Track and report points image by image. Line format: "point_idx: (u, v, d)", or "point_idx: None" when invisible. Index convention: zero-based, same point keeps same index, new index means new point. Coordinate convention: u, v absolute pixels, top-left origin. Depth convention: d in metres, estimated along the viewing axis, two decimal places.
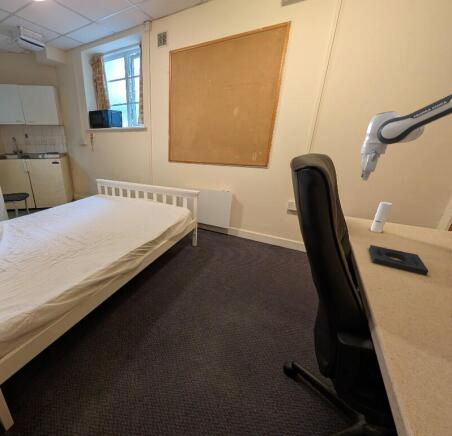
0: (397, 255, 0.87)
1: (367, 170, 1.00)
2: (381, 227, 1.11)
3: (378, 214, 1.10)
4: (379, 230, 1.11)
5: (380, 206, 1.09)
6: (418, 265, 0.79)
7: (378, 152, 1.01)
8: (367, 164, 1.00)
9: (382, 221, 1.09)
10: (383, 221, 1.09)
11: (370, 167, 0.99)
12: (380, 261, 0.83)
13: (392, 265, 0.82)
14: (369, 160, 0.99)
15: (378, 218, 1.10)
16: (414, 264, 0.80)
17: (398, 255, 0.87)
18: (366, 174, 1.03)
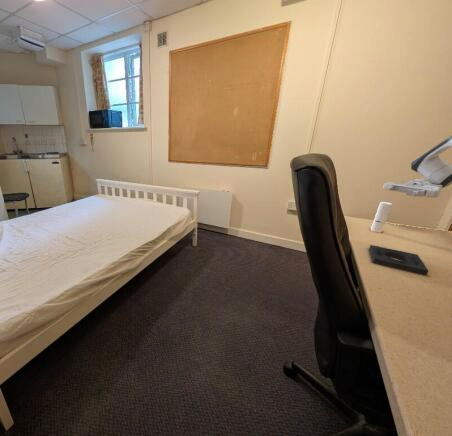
0: (397, 255, 0.87)
1: (383, 187, 1.21)
2: (381, 227, 1.11)
3: (378, 214, 1.10)
4: (379, 230, 1.11)
5: (380, 206, 1.09)
6: (418, 265, 0.79)
7: None
8: None
9: (382, 221, 1.09)
10: (383, 221, 1.09)
11: None
12: (380, 261, 0.83)
13: (392, 265, 0.82)
14: None
15: (378, 218, 1.10)
16: (414, 264, 0.80)
17: (398, 255, 0.87)
18: None
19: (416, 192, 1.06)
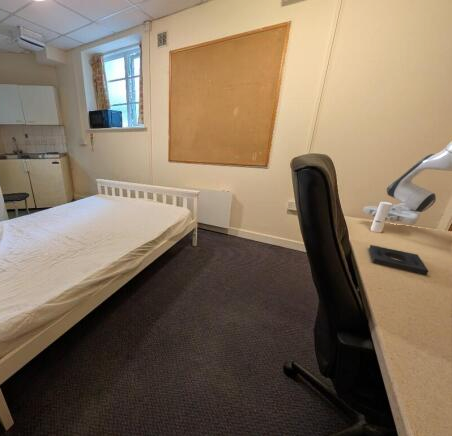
0: (397, 255, 0.87)
1: (363, 210, 1.21)
2: (381, 227, 1.11)
3: (378, 214, 1.10)
4: (379, 230, 1.11)
5: (380, 206, 1.09)
6: (418, 265, 0.79)
7: None
8: None
9: (382, 221, 1.09)
10: (383, 221, 1.09)
11: None
12: (380, 261, 0.83)
13: (392, 265, 0.82)
14: None
15: (378, 218, 1.10)
16: (414, 264, 0.80)
17: (398, 255, 0.87)
18: None
19: (388, 217, 1.08)
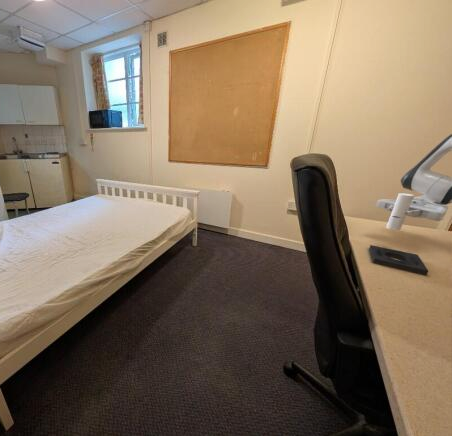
0: (397, 255, 0.87)
1: None
2: (400, 224, 0.92)
3: (396, 208, 0.91)
4: (397, 227, 0.92)
5: (399, 198, 0.90)
6: (418, 265, 0.79)
7: None
8: None
9: (401, 216, 0.90)
10: (402, 216, 0.90)
11: None
12: (380, 261, 0.83)
13: (392, 265, 0.82)
14: None
15: (397, 213, 0.91)
16: (414, 264, 0.80)
17: (398, 255, 0.87)
18: None
19: (409, 212, 0.89)
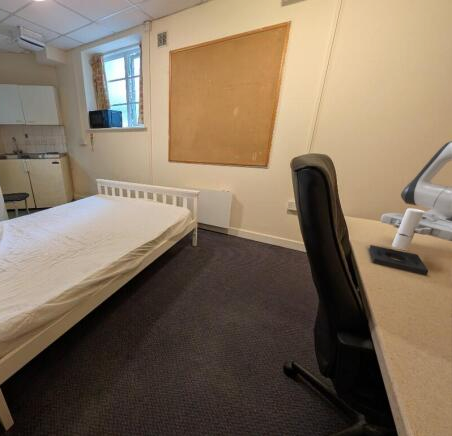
0: (397, 255, 0.87)
1: (381, 219, 0.92)
2: (408, 243, 0.81)
3: (404, 225, 0.81)
4: (405, 247, 0.82)
5: (407, 214, 0.80)
6: (418, 265, 0.79)
7: None
8: None
9: (409, 235, 0.80)
10: (411, 235, 0.80)
11: None
12: (380, 261, 0.83)
13: (392, 265, 0.82)
14: None
15: (405, 230, 0.81)
16: (414, 264, 0.80)
17: (398, 255, 0.87)
18: None
19: (418, 230, 0.78)
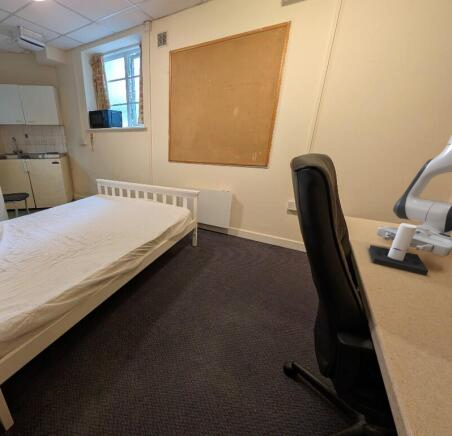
0: None
1: (377, 232, 0.93)
2: (401, 257, 0.83)
3: (397, 239, 0.83)
4: None
5: (401, 229, 0.82)
6: (418, 265, 0.79)
7: None
8: None
9: (403, 249, 0.82)
10: (404, 249, 0.82)
11: None
12: (380, 261, 0.83)
13: (392, 265, 0.82)
14: None
15: (398, 245, 0.83)
16: (414, 264, 0.80)
17: None
18: None
19: (420, 247, 0.78)
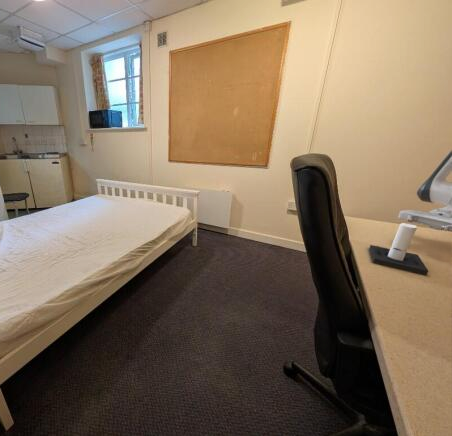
0: None
1: (398, 216, 0.96)
2: (401, 257, 0.83)
3: (397, 239, 0.83)
4: None
5: (401, 229, 0.82)
6: (418, 265, 0.79)
7: None
8: None
9: (403, 249, 0.82)
10: (404, 249, 0.82)
11: None
12: (380, 261, 0.83)
13: (392, 265, 0.82)
14: None
15: (398, 245, 0.83)
16: (414, 264, 0.80)
17: None
18: (407, 218, 0.92)
19: (444, 227, 0.81)
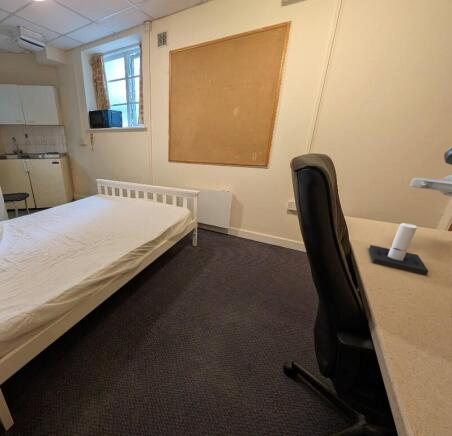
0: None
1: (411, 183, 0.91)
2: (401, 257, 0.83)
3: (397, 239, 0.83)
4: None
5: (401, 229, 0.82)
6: (418, 265, 0.79)
7: None
8: None
9: (403, 249, 0.82)
10: (404, 249, 0.82)
11: None
12: (380, 261, 0.83)
13: (392, 265, 0.82)
14: None
15: (398, 245, 0.83)
16: (414, 264, 0.80)
17: None
18: None
19: None
